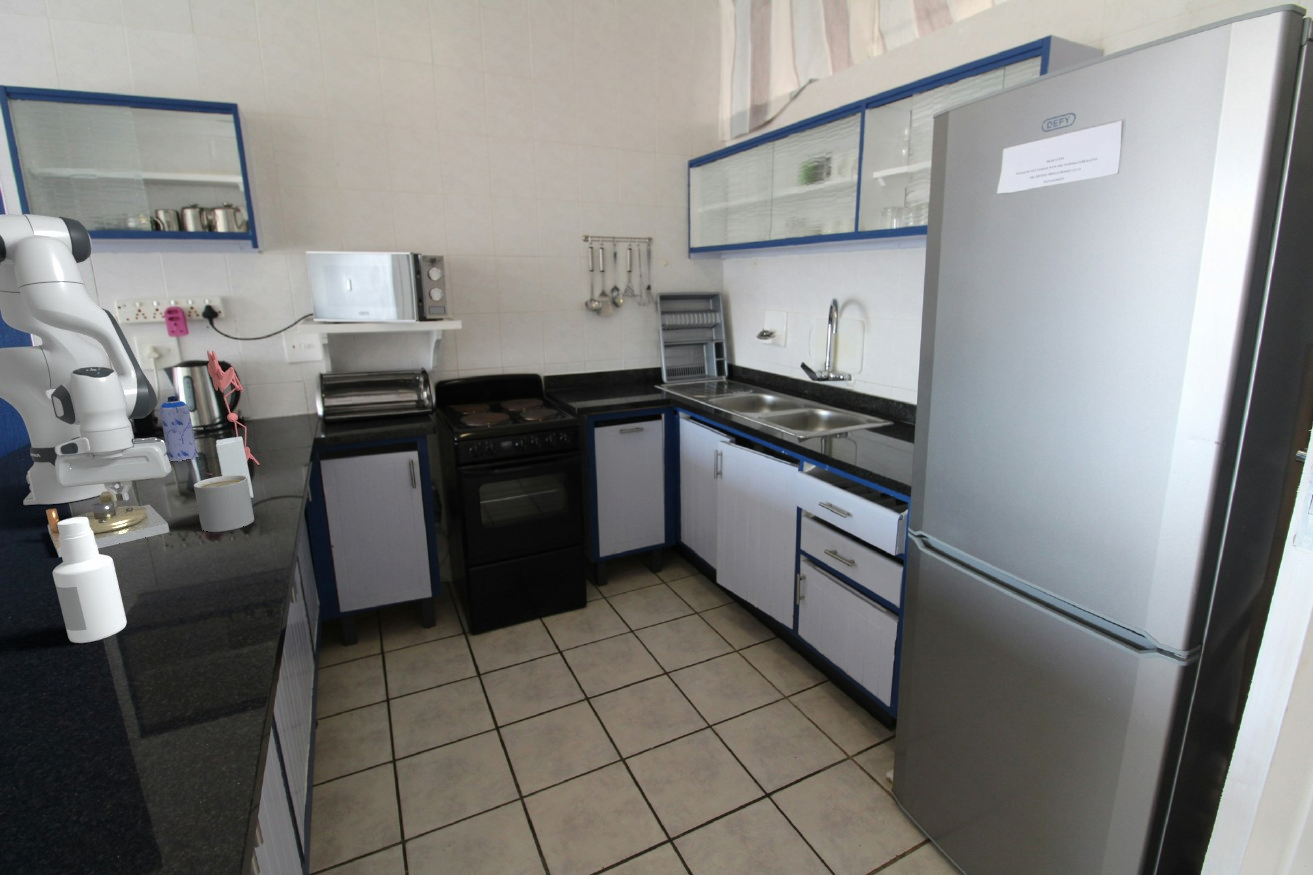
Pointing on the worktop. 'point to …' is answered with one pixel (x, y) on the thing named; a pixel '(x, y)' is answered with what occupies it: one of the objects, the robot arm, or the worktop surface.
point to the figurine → (223, 382)
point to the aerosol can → (178, 430)
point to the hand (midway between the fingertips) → (121, 500)
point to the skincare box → (233, 458)
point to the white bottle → (87, 585)
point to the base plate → (133, 532)
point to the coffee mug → (224, 503)
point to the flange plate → (113, 515)
